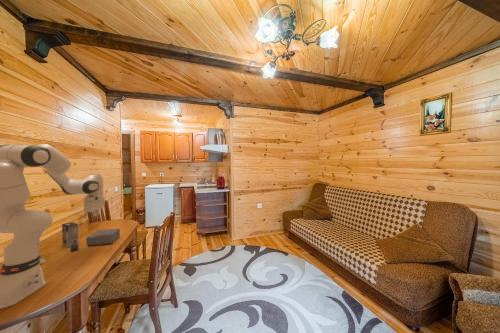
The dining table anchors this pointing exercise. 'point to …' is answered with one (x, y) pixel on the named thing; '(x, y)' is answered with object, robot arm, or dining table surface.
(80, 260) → the dining table surface
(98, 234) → the housing
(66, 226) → the coffee box
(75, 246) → the grey rounded piece
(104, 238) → the tray
